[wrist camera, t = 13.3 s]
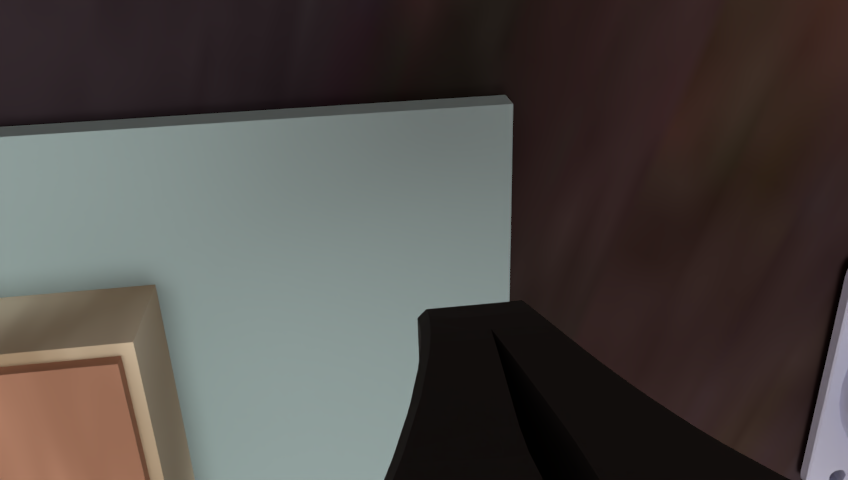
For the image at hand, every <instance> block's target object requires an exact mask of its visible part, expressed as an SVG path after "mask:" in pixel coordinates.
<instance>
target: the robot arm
mask: <svg viewBox="0 0 848 480" xmlns="http://www.w3.org/2000/svg"><path fill="white" fill-rule="evenodd" d="M417 320H418V346H419V364H418V371H417V375H416V379H415V384H414V388H413V393H412V397H411V402H410V406H409V409H408V413H407V416H406V419H405V422H404V425H403V428H402V431H401V434H400V437H399V440H398V443H397V446H396V449H395V452H394V455H393V458H392V461H391V463H390V466H389V468H388V471H387V473H386V476H385V478H384V480H790V479H788V478H786V477H784V476H782V475H780V474H778V473H776V472H774V471H772V470H771V469H769V468H767V467H765V466H763V465H761V464H760V463H758V462H756V461H754V460H752V459H750V458H749V457H747V456H745V455H743V454H741V453H739V452H738V451H736V450H734V449H732V448H730V447H728V446H727V445H725V444H723V443H721V442H720V441H718V440H716V439H714V438H713V437H711V436H709V435H708V434H706V433H704V432H703V431H701V430H699V429H698V428H696V427H694V426H693V425H691V424H690V423H688V422H687V421H685V420H684V419H682V418H681V417H679V416H677V415H676V414H674V413H673V412H671V411H670V410H668V409H667V408H665V407H664V406H662V405H660V404H659V403H657V402H656V401H654V400H653V399H651V398H650V397H648V396H647V395H646V394H644V393H643V392H641V391H640V390H638V389H637V388H635V387H634V386H633V385H631V384H630V383H628V382H627V381H626V380H624V379H623V378H621V377H620V376H619V375H617V374H616V373H615V372H613V371H612V370H611V369H609V368H608V367H606V366H605V365H604V364H602V363H601V362H600V361H598V360H597V359H596V358H595V357H593V356H592V355H591V354H589V353H588V352H587V351H585V350H584V349H583V348H582V347H580V346H579V345H578V344H577V343H575V342H574V341H573V340H571V339H570V338H569V337H568V336H566V335H565V334H564V333H563V332H561V331H560V330H559V329H558V328H556V327H555V326H554V325H553V324H551V323H550V322H549V321H548V320H546V319H545V318H544V317H543V316H541V315H540V314H539V313H538V312H536V311H535V310H534V309H533V308H531V307H530V306H529V305H527V304H526V303H525V302H523V301H522V300H521V301H510V302H499V303H488V304H477V305H466V306H455V307H444V308H433V309H426V310H425V311H424V312H423V313H422V314H421V315H420V316H419V317H418V318H417ZM801 478H802V480H848V269H847V272H846V275H845V279H844V284H843V288H842V292H841V297H840V301H839V306H838V310H837V314H836V319H835V323H834V328H833V332H832V336H831V341H830V345H829V349H828V354H827V358H826V363H825V367H824V371H823V376H822V380H821V385H820V389H819V393H818V398H817V402H816V407H815V411H814V415H813V420H812V424H811V429H810V433H809V437H808V442H807V446H806V451H805V455H804V459H803V464H802V468H801Z"/></svg>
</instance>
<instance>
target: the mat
mask: <svg viewBox="0 0 848 480" xmlns="http://www.w3.org/2000/svg"><path fill="white" fill-rule="evenodd" d="M512 141H513V103H512V102H511V101H510V100H509V98H508V97H507V96H506V95H494V96H478V97H463V98H447V99H431V100H415V101H400V102H384V103H368V104H352V105H337V106H321V107H305V108H289V109H274V110H258V111H242V112H226V113H211V114H195V115H179V116H163V117H148V118H132V119H116V120H100V121H85V122H69V123H53V124H37V125H22V126H6V127H0V298H3V297H15V296H27V295H38V294H50V293H62V292H74V291H85V290H97V289H109V288H121V287H132V286H144V285H156V290H157V295H158V300H159V305H160V310H161V315H162V320H163V325H164V330H165V335H166V339H167V344H168V349H169V354H170V359H171V364H172V369H173V374H174V379H175V384H176V389H177V394H178V399H179V404H180V409H181V414H182V419H183V423H184V428H185V433H186V438H187V443H188V448H189V453H190V458H191V463H192V468H193V473H194V478H195V480H384V478H385V476H386V473H387V471H388V468H389V466H390V463H391V461H392V458H393V455H394V452H395V449H396V446H397V443H398V440H399V437H400V434H401V431H402V428H403V425H404V422H405V419H406V416H407V413H408V409H409V406H410V402H411V397H412V393H413V388H414V384H415V379H416V375H417V371H418V364H419V346H418V320H417V318H418V317H419V316H420V315H421V314H422V313H423V312H424V311H425V310H426V309H433V308H444V307H455V306H466V305H477V304H488V303H499V302H509V296H510V245H511V193H512Z"/></svg>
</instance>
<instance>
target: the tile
mask: <svg viewBox="0 0 848 480" xmlns="http://www.w3.org/2000/svg"><path fill="white" fill-rule="evenodd" d="M0 480H195V478H194V473H193V468H192V463H191V458H190V453H189V448H188V443H187V438H186V433H185V428H184V423H183V419H182V414H181V409H180V404H179V399H178V394H177V389H176V384H175V379H174V374H173V369H172V364H171V359H170V354H169V349H168V344H167V339H166V335H165V330H164V325H163V320H162V315H161V310H160V305H159V300H158V295H157V290H156V285H144V286H132V287H121V288H109V289H97V290H85V291H74V292H62V293H50V294H38V295H27V296H15V297H3V298H0Z"/></svg>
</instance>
